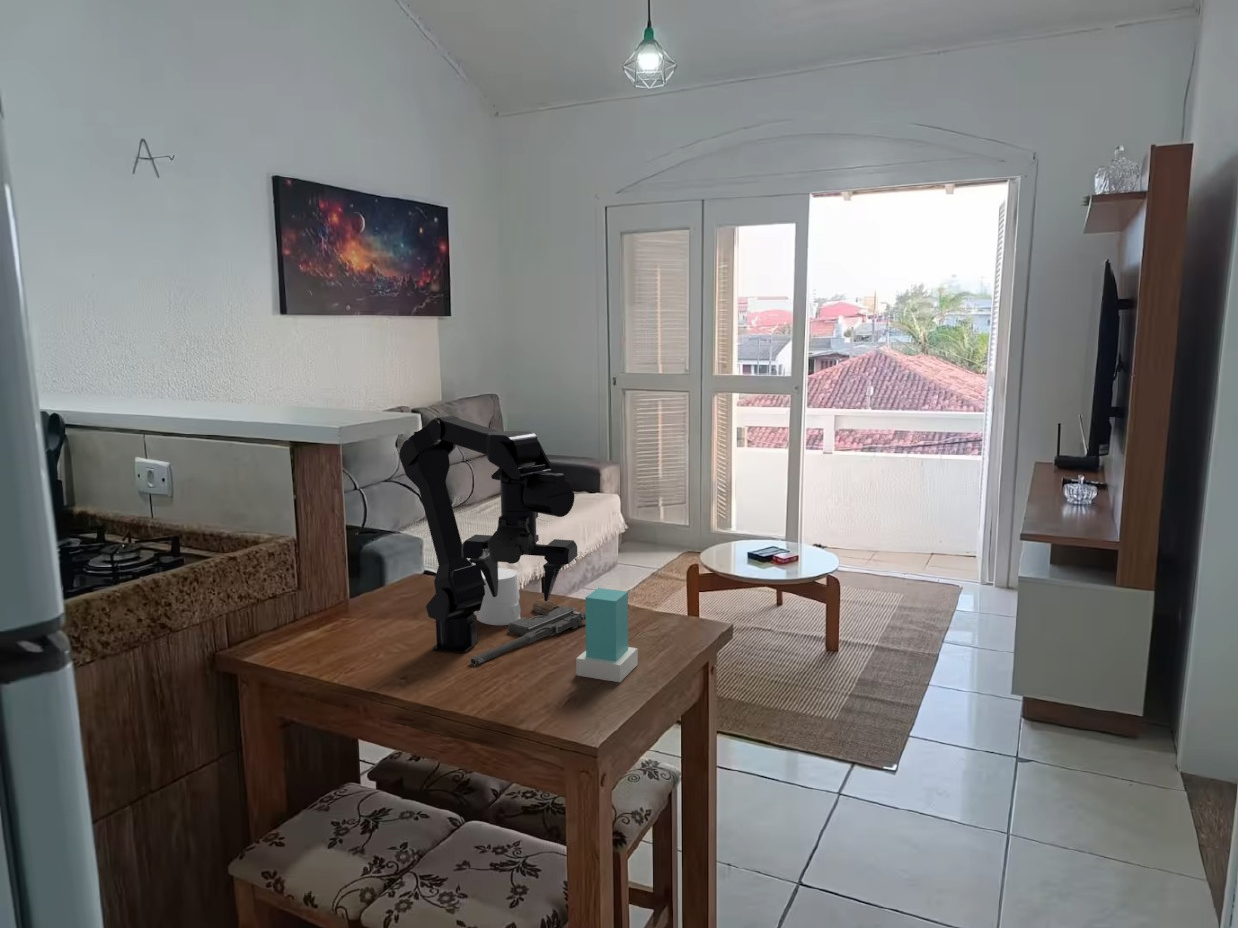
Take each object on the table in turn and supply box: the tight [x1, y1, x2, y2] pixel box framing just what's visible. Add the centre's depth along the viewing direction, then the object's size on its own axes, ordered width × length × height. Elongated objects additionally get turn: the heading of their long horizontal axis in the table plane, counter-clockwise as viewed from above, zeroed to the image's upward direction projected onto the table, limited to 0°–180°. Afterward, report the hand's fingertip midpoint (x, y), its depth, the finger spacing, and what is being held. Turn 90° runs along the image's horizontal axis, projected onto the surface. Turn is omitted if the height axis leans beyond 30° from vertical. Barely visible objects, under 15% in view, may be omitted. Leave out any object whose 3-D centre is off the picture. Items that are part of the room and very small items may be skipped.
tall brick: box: [584, 587, 629, 661], centre depth 149 cm, size 6×6×10 cm
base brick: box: [575, 646, 639, 683], centre depth 150 cm, size 8×8×3 cm
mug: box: [474, 567, 522, 626], centre depth 176 cm, size 12×9×8 cm
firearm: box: [469, 597, 586, 666], centre depth 167 cm, size 3×30×15 cm
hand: (520, 598), depth 147 cm, fingers open, 9 cm apart
